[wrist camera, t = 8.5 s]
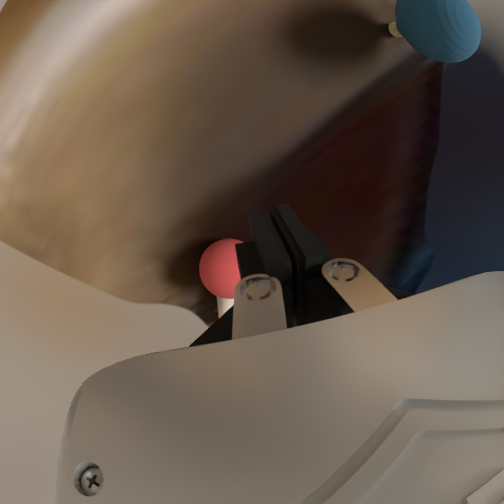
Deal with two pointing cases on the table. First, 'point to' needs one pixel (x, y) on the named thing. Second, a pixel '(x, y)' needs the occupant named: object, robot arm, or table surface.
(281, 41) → the table surface
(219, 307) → the ivory pin
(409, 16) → the blue ovoid piece
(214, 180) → the table surface
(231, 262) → the ball
